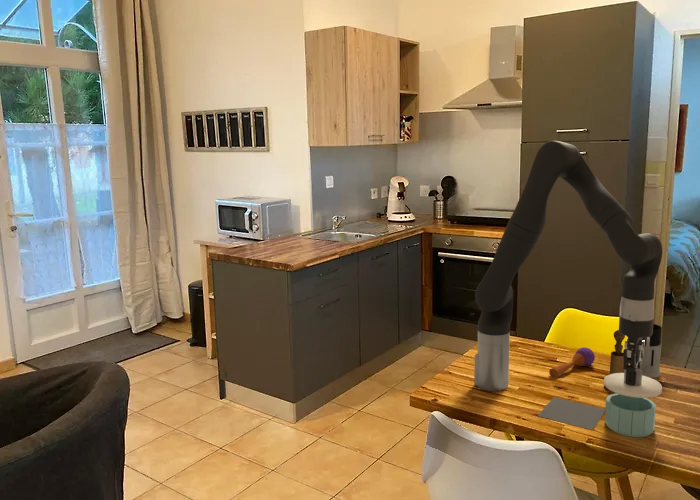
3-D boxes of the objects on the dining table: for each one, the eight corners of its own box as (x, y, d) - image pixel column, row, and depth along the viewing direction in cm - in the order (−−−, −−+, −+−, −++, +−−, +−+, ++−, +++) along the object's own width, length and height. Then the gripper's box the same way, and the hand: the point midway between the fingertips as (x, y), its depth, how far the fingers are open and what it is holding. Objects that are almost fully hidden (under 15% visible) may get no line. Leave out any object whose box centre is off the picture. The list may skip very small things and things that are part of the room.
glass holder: (660, 369, 183) (663, 323, 180) (662, 386, 171) (665, 337, 168) (629, 365, 187) (632, 320, 184) (629, 381, 174) (632, 334, 172)
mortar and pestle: (630, 395, 165) (634, 334, 162) (606, 393, 166) (610, 333, 163) (624, 385, 172) (628, 327, 168) (601, 384, 173) (604, 326, 170)
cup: (600, 431, 145) (602, 405, 144) (610, 414, 154) (612, 389, 153) (649, 443, 139) (651, 416, 137) (657, 425, 147) (658, 399, 146)
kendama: (544, 363, 181) (580, 344, 192) (547, 381, 181) (583, 361, 192) (560, 365, 176) (596, 345, 187) (563, 384, 176) (599, 363, 187)
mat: (537, 417, 153) (537, 415, 153) (553, 398, 164) (554, 396, 164) (592, 431, 145) (592, 430, 145) (606, 410, 156) (606, 409, 156)
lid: (598, 390, 143) (599, 372, 142) (610, 372, 153) (611, 356, 152) (657, 402, 135) (658, 384, 135) (665, 383, 146) (666, 366, 145)
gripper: (625, 306, 149) (622, 369, 152) (613, 320, 138) (609, 387, 141) (658, 310, 144) (654, 375, 147) (648, 325, 133) (643, 395, 136)
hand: (632, 381), depth 144 cm, fingers closed on lid, 4 cm apart
